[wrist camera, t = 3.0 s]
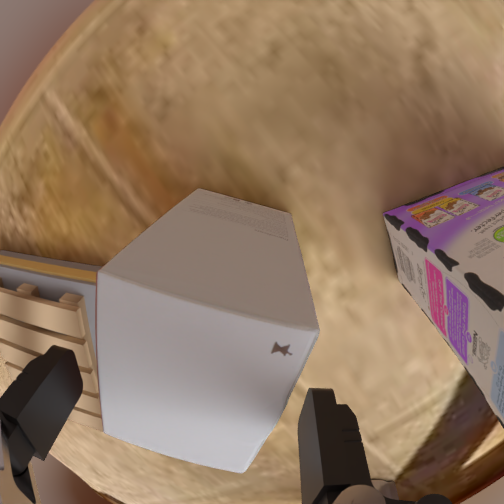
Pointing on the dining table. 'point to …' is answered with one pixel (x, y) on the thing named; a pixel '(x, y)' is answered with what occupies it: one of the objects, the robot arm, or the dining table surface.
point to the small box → (203, 331)
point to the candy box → (459, 272)
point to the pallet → (50, 340)
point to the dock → (51, 279)
